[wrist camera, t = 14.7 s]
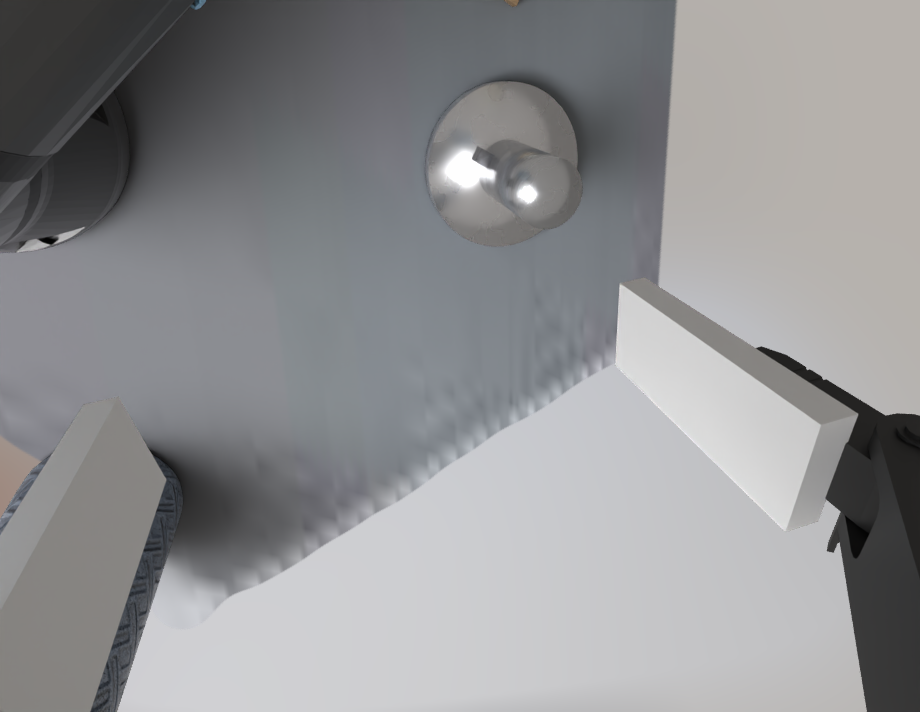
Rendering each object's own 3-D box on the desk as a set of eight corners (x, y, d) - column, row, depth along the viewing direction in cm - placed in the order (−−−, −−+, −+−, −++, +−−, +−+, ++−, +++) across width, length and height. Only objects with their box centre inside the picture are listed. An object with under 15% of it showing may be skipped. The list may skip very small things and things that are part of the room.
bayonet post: (399, 204, 40) (424, 242, 31) (470, 46, 36) (521, 42, 27) (522, 262, 45) (571, 308, 37) (596, 130, 41) (671, 148, 33)
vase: (172, 432, 44) (23, 856, 21) (195, 531, 50) (98, 950, 27) (5, 446, 41) (-398, 965, 18) (49, 550, 47) (-208, 1045, 23)
